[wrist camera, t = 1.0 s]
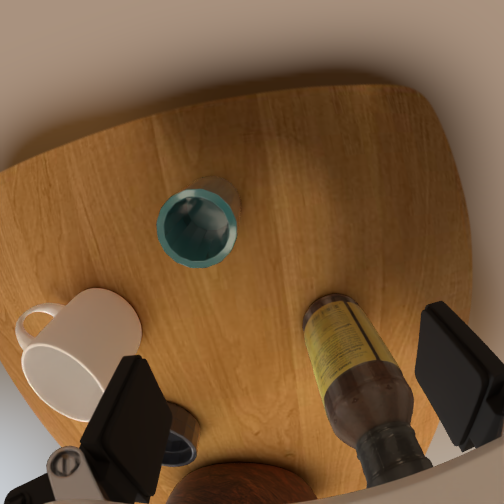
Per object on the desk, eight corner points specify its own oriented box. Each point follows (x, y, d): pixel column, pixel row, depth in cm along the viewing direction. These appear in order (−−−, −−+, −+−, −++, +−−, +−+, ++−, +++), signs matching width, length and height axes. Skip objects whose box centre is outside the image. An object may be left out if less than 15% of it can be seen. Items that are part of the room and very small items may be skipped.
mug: (54, 257, 28) (-9, 303, 18) (154, 307, 30) (116, 378, 20) (45, 319, 31) (-4, 372, 21) (133, 365, 33) (101, 435, 22)
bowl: (129, 427, 37) (121, 451, 32) (138, 388, 34) (128, 414, 30) (191, 448, 38) (186, 473, 33) (209, 412, 35) (205, 440, 31)
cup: (175, 221, 27) (147, 251, 20) (194, 167, 26) (170, 177, 18) (228, 241, 28) (220, 279, 20) (250, 188, 26) (249, 206, 19)
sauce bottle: (294, 341, 31) (326, 525, 12) (310, 286, 29) (375, 475, 10) (351, 347, 32) (416, 510, 13) (371, 295, 30) (473, 456, 11)
